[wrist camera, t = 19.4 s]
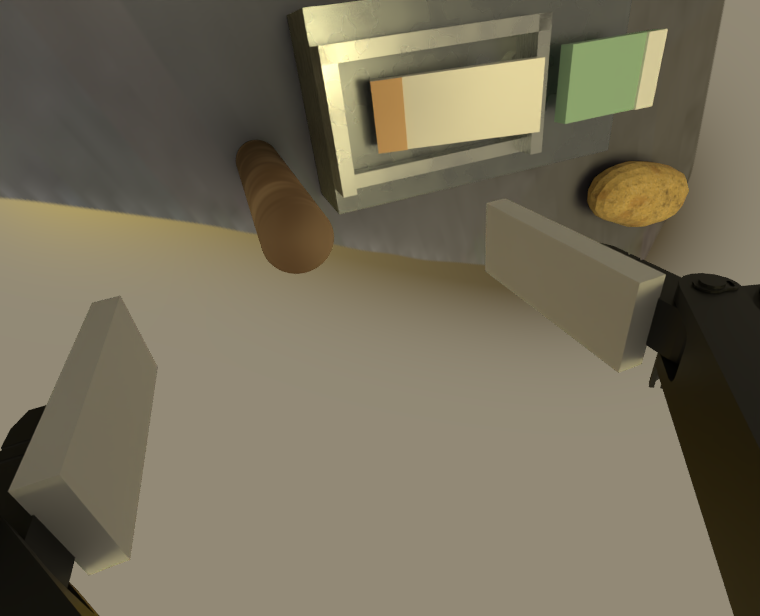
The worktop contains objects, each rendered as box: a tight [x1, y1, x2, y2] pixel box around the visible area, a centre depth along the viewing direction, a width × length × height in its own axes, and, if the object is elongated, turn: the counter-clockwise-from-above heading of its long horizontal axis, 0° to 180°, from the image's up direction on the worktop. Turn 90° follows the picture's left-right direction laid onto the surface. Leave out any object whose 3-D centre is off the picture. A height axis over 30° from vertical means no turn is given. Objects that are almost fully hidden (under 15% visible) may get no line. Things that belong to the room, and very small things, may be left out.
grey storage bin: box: [287, 0, 632, 214], centre depth 33 cm, size 25×13×8 cm, turn 97°
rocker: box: [370, 56, 545, 154], centre depth 29 cm, size 11×4×1 cm, turn 97°
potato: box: [587, 161, 689, 227], centre depth 46 cm, size 7×11×6 cm, turn 83°
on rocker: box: [554, 29, 668, 124], centre depth 31 cm, size 8×5×1 cm, turn 97°
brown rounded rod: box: [236, 140, 334, 274], centre depth 27 cm, size 3×3×18 cm
